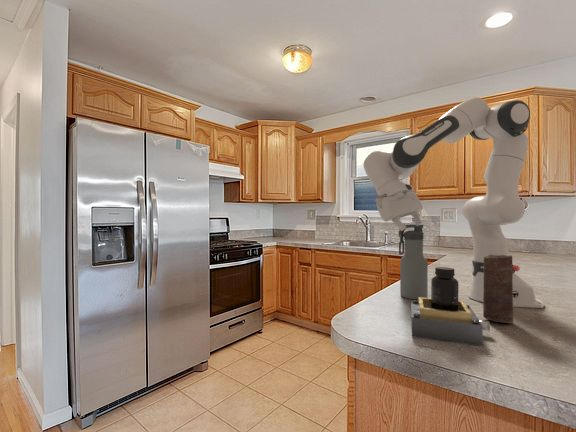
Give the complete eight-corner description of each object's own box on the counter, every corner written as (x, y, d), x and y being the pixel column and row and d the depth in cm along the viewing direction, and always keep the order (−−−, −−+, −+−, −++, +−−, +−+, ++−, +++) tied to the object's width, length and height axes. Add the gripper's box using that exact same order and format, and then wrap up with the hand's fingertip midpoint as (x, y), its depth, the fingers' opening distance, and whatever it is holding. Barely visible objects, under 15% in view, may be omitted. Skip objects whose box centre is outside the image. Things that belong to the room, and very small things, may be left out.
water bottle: (396, 297, 119) (396, 224, 119) (402, 292, 127) (402, 223, 127) (424, 301, 113) (424, 225, 113) (429, 295, 121) (429, 224, 121)
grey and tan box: (481, 325, 89) (482, 301, 89) (496, 347, 74) (497, 318, 74) (411, 317, 96) (411, 294, 96) (411, 336, 81) (411, 309, 81)
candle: (503, 327, 87) (503, 257, 87) (477, 319, 94) (477, 254, 94) (518, 323, 91) (518, 255, 91) (492, 316, 97) (492, 252, 97)
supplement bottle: (461, 315, 83) (461, 270, 82) (434, 313, 84) (434, 269, 84) (454, 308, 89) (454, 266, 89) (428, 306, 91) (428, 265, 91)
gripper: (380, 191, 101) (401, 228, 97) (414, 184, 113) (434, 218, 109) (367, 201, 105) (387, 237, 101) (401, 193, 118) (420, 225, 114)
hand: (412, 227), depth 105 cm, fingers open, 8 cm apart
